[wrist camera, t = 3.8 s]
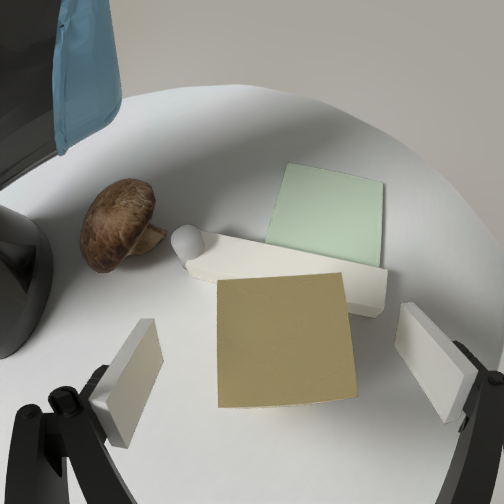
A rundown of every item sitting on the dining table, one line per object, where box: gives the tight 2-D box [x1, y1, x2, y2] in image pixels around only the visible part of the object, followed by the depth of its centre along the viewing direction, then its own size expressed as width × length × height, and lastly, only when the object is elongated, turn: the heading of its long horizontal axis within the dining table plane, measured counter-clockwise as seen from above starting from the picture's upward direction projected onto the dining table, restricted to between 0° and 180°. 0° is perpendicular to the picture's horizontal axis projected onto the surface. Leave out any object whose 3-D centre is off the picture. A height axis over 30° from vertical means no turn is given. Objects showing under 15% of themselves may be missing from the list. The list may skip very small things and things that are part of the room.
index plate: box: [264, 163, 383, 268], centre depth 25 cm, size 9×9×1 cm
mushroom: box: [80, 179, 167, 273], centre depth 23 cm, size 8×8×6 cm
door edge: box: [171, 225, 388, 318], centre depth 22 cm, size 15×3×3 cm, turn 75°
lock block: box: [217, 272, 358, 409], centre depth 15 cm, size 4×4×11 cm
